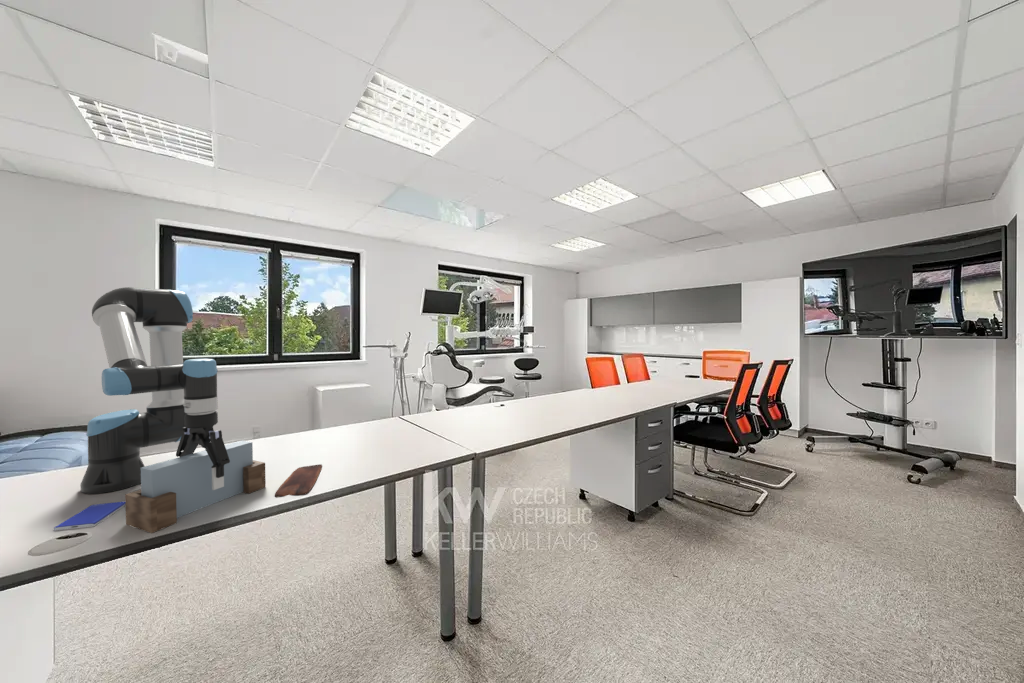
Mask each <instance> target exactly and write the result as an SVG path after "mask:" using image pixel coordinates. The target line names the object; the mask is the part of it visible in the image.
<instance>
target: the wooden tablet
mask: <svg viewBox="0 0 1024 683" xmlns="http://www.w3.org/2000/svg"><path fill="white" fill-rule="evenodd" d="M322 468H323V464H322V463H320V464H315V465H314V464H313V465H306V466H300V467H297V468H296V469H295V470H293V471H292V472H291V474H290V475H289V476H288V477H287V478H286V479H285V480H284V481H283V483H282V484H281V485H280V486H279V488H278V489H277V490H276V491H275V493H274V497H275V498H281V497H287V496H295V497H296V496H304V495H307V494H308V493H309V492H310V491H311V489H312V488H313V487H314V485H315V483H316V482H317V480H318V477H319V475H320V473H321V470H322Z"/></svg>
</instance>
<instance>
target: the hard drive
mask: <svg viewBox="0 0 1024 683" xmlns="http://www.w3.org/2000/svg"><path fill="white" fill-rule="evenodd" d="M124 507H126V506H125V501H116V502H107V503H106V502H105V503H98V504H91V505H88V506H87V507H85V508H84V509H82V510H81V511H80V512H78V513H76V514H74V515H73V516H71V517H69V518H67V519H66V520H64V521H63V522H61V523H59V524H58V525H56V526H54V527H53V531H54V532H56V531H61V530H62V531H63V530H72V529H73V530H74V529H79V528H80V529H81V528H91V527H95V526H97V525H98V524H100V523H102V522H103V521H105V520H106V519H108V518H109V517H110V516H112V515H113V514H115V513H117V512H118V511H120V510H121V509H123V508H124Z"/></svg>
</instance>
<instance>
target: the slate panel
mask: <svg viewBox="0 0 1024 683" xmlns="http://www.w3.org/2000/svg"><path fill="white" fill-rule="evenodd" d="M224 445H225V448H226V451H227V454H228V457H229V460H230V463H227V464H225V465H224V487H221V488H218V489H215V490H212V466H213V463H212V461H211V459H210V457H209V455H208V453H207V451H206V450H201V451H197V452H194V453H193V454H190V455H186V456H182V457H176V458H171V459H167V460H165V461H161V462H158V463H154V464H153V463H152V464H150V465H149V464H148V465H146V466H145V465H144V466H145V467H141V483H140V490H141V496H145V497H148V498H153V497H156V496H159V495H162V494H165V493H168V492H174V493H176V509H177V518H181V517H183V516H186V515H188V514H191V513H193V512H196V511H198V510H201V509H203V508H206V507H209V506H211V505H213V504H216V503H219V502H221V501H223V500H226V499H229V498H231V497H233V496H236V495H239V494H241V493H244V487H243V467H246V466H249V465H252V464H253V460H254V457H253V456H254V454H253V453H254V452H253V451H254V450H253V449H254V448H253V442H252V441H249V440H242V439H241V440H238V441H235V442H231V443H227V444H224ZM224 460H225V459H224Z"/></svg>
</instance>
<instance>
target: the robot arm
mask: <svg viewBox="0 0 1024 683" xmlns="http://www.w3.org/2000/svg"><path fill="white" fill-rule="evenodd" d="M193 315H194V310H193V306H192V302H191V299H190V296H188V294H187V293H186V292H184V291H182V290H181V291H180V290H175V289H174V290H173V289H170V288H169V289H167V288H166V289H165V288H164V289H162V288H147V287H146V288H143V287H132V286H129V287H120V288H115V289H112V290H110V291H108V292H106V293H104V294H103V295H101V296H100V297H98V299H97V300H96V301H95V302H94V304H93V306H92V309H91V317H92V320H93V322H94V323H95V325H96V326H98V327H99V330H100V334H101V337H102V342H103V346H104V351H105V354H106V359H107V363H108V368H104V369H103V370H102V372H101V386H102V387H101V389H102V392H103V394H105V396H129V395H137V394H146V393H151V398H152V399H151V402H150V403H149V404H148V405H147V406H146V411H145V412H140V411H139V410H138V409H135V408H133V409H132V408H131V409H121V410H118V411H117V410H116V411H111V412H107V413H104V414H100V415H97V416H95V417H93V418H91V419H90V420H89V421H88V423H87V427H86V428H87V429H86V430H87V431H86V434H85V435H86V437H87V461H88V464H87V467H86V470H85V472H84V475H83V477H82V480H81V482H80V492H81V493H82V494H89V495H91V494H93V495H94V494H95V495H96V494H104V493H110V492H114V491H120V490H123V489H128V488H132V487H134V486H137V485H139V484H141V467H145V464H144V461H143V460H142V458H141V454H140V452H141V451H140V449H141V448H146V447H147V448H148V447H155V446H158V445H163V444H164V445H165V444H169V443H170V444H171V443H178V442H179V443H178V446H177V449H176V453H175V457H176V458H178V457H182V456H186V455H190V454H193V453H195V451H196V449H197V448H198V446H201V447H202V448H203V449H205V450H206V451H207V453H208V455H209V457H210V459H211V461H212V463H213V466H212V490H215V489H218V488H221V487H224V465H225V464H227V463H230V460H229V457H228V454H227V451H226V448H225V445H226V444H225V443H224V440H223V434H222V433H223V432H222V430H221V429H218V430H215V429H214V426H216V425H218V423H219V421H218V420H219V418H218V417H219V416H218V411H217V410H218V409H219V406H218V367H217V361H216V360H215V359H214V358H191V359H186V360H184V355H183V354H184V351H183V332H184V331H185V330H186V329H187V328H188V324H189V323H192V322H193V319H194V318H193ZM135 323H142V328H143V329H144V330H145V331H147V332H148V335H149V336H148V337H149V353H150V354H149V357H150V365H148V364H147V360H146V358H145V354H144V350H143V348H142V344H141V341H140V339H139V335H138V331H137V328H136V325H135ZM224 459H225V460H224Z"/></svg>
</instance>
